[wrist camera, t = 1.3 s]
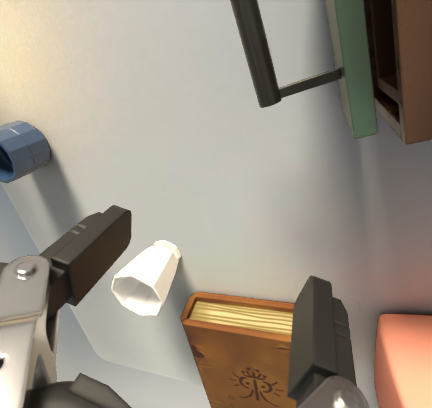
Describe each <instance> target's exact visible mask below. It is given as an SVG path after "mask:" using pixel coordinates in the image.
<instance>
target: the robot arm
mask: <svg viewBox="0 0 432 408" xmlns="http://www.w3.org/2000/svg"><path fill="white" fill-rule="evenodd" d="M130 240H131V211H130V210H127V209H124V208H121V207H118V206H115V205H113V206H111V207H110V208H109V209H107V210H106V211H105V212H104V213H100V212H98V213H95V214H93V215H90V216H88V217H86V218H85V219H84V220H82V221H81V222H80V223H79V224H78V225H77V226H75V227H74V228H72V229H71V230H70V232H67V233H66V234H65V235H63V236H62V237H61V238H60V239H58V240H57V241H56V242H55V243H53V244H52V245H51V246H50V247H48V248H47V249H46V250H45V251H43V252H42V253H41V254H40V255H38V256H37V255H29V256H24V257H20V258H18V259H15V260H14V261H12V262H10V263H0V408H131V407H130V406H129V405H128V404H127V403H126V402H125V401H124V400H123V399H122V398H121V397H120V396H119V395H118V394H117V393H116V392H114V391H113V390H112V389H111V388H110V387H109V386H108V385H106V384H103V383H101V382H99V381H97V380H95V379H92V378H90V377H88V376H86V375H84V374H82V373H80V374H79V375H78V377H77V378H76V380H75V381H63V382H57V372H56V350H57V339H58V329H59V317H60V308H61V307H62V306H63V305H64V304H65V303H69V304H71V305H73V306H76V305H77V304H78V303H79V302H80V301H81V300H82V299H83V298H84V296H85V295H86V294H87V293H88V292H89V291H90V290H91V288H92V287H93V286H94V285H95V284H96V283H97V282H98V280H99V279H100V278H101V277H102V276H103V275H104V274H105V272H106V271H107V270H108V269H109V268H110V267H111V266H112V265H113V263H114V262H115V261H116V260H117V259H118V258H119V257H120V255H121V254H122V253H123V252H124V251H125V250H126V248H127V247H128V245H129V243H130ZM348 327H349V322H348V314H347V311H346V309H345V307H344V306H343V304H342V302H341V300H339V299H337V298H334V297H332V286H331V283H330V282H329V281H326V280H323V279H320V278H317V277H315V276H310V277H309V279H308V280H307V282H306V284H305V286H304V287H303V289H302V291H301V293H300V294H299V296H298V298H297V300H296V302H295V306H294V310H293V320H292V334H291V348H290V361H289V375H288V389H287V397H289V398H291V399H293V400H296V408H369V405H368V402H367V400H366V398H365V396H364V395H363V393H362V392H361V391H360V389H359V388H358V387H357V384H356V378H355V370H354V362H353V354H352V346H351V339H350V330H349V328H348Z"/></svg>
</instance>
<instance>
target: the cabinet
mask: <svg viewBox="0 0 432 408" xmlns="http://www.w3.org/2000/svg"><path fill="white" fill-rule="evenodd" d="M391 7H392V20H393V34H394V47H395V61H396V74H397V88H398V101H399V104H398V103H397V102H396V101H394V100H393V99H392V98H391V97H389V96H388V95H387V94H386V93H384V92H383V91H382V90H381V89H380V88H378V80H377V71H376V61H375V51H374V41H373V31H372V21H371V12H370V2H369V0H364V8H365V17H366V26H367V35H368V45H369V54H370V63H371V72H372V81H373V91H374V100H375V109H376V110H377V111H378V112H379V114H380V115H381V116H382V117H383V118H384V119H385V121H386V122H387V123H388V124H389V125H390V127H391V128H392V129H393V130H394V131H395V132H396V134H397V135H398V136H399V137H400V138H401V139H402V141H403V142H404V143H405V144H412V143H417V142H421V141H426V140H431V139H432V0H391Z"/></svg>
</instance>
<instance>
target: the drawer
mask: <svg viewBox="0 0 432 408" xmlns="http://www.w3.org/2000/svg"><path fill="white" fill-rule="evenodd" d="M230 1H231V5H232V8H233V12H234V16H235V19H236V23H237V26H238V30H239V34H240V37H241V41H242V44H243V48H244V52H245V55H246V59H247V62H248V66H249V69H250V73H251V77H252V80H253V84H254V87H255V91H256V95H257V98H258V102H259V105H260V107H261V108H264V107H268V106H271V105H274V104H276V103H278V102H280V101H281V98H283V97H286V96H289V95H292V94H295V93H298V92H301V91H304V90H308V89H311V88H314V87H317V86H320V85H323V84H326V83H329V82H332V81H335V80H338V86H339V92H340V99H341V105H342V109H343V111H344V114H345V117H346V119H347V122H348V124H349V127H350V129H351V132H352V134H353V137H354V139H357V138H362V137H366V136H370V135H374V134H377V133H378V127H377V118H376V109H375V100H374V91H373V81H372V72H371V63H370V54H369V45H368V35H367V26H366V17H365V8H364V0H325V4H326V10H327V16H328V23H329V29H330V35H331V42H332V48H333V54H334V61H335V67H336V69H333V70H330V71H327V72H324V73H321V74H318V75H315V76H313V77H310V78H307V79H304V80H301V81H298V82H295V83H292V84H289V85H286V86H283V87H280V88H279V87H278V83H277V79H276V75H275V71H274V67H273V63H272V59H271V55H270V50H269V46H268V42H267V38H266V34H265V30H264V26H263V22H262V18H261V14H260V9H259V5H258V1H257V0H230ZM369 2H370V12H371V21H372V31H373V41H374V51H375V61H376V71H377V80H378V88H380V89H381V90H382V91H383V92H384V93H386V94H387V95H388V96H389V97H391V98H392V99H393V100H394V101H396V102H397V103H398V104H399V101H398V88H397V74H396V61H395V47H394V34H393V20H392V7H391V0H369Z"/></svg>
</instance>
